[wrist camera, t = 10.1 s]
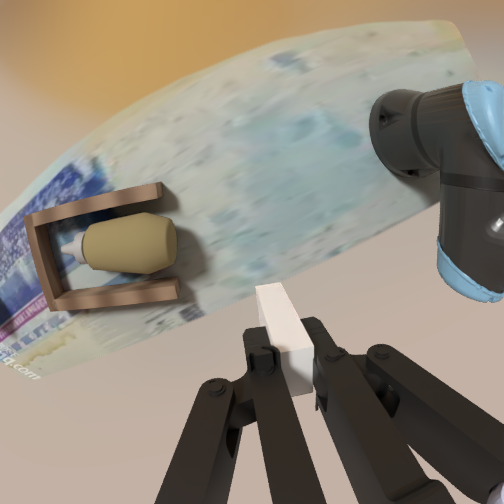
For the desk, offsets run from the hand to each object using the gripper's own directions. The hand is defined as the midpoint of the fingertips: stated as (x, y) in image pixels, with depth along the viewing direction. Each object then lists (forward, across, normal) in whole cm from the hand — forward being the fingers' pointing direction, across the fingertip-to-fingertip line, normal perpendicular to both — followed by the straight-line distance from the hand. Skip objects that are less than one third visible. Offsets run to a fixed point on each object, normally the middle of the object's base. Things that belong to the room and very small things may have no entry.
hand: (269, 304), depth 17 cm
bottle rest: (+24, +21, 0) cm, 32 cm away
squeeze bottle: (+19, +9, 0) cm, 21 cm away
